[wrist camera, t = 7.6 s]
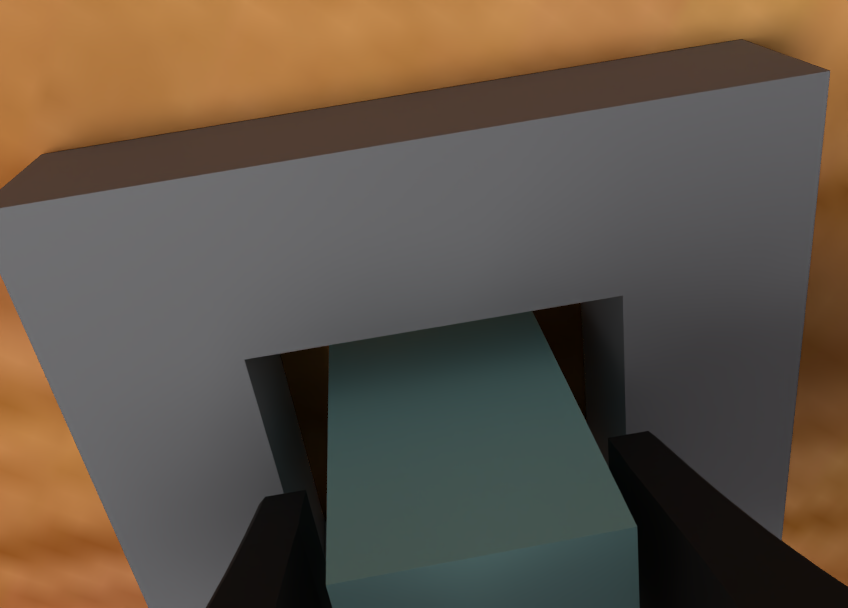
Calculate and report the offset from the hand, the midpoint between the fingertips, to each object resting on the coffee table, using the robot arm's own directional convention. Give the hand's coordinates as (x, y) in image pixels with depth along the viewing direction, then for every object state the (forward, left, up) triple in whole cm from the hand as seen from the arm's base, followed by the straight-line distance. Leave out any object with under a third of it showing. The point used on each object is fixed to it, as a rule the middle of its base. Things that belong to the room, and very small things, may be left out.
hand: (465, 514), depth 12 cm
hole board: (0, 0, -3) cm, 3 cm away
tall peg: (0, 0, -3) cm, 3 cm away
